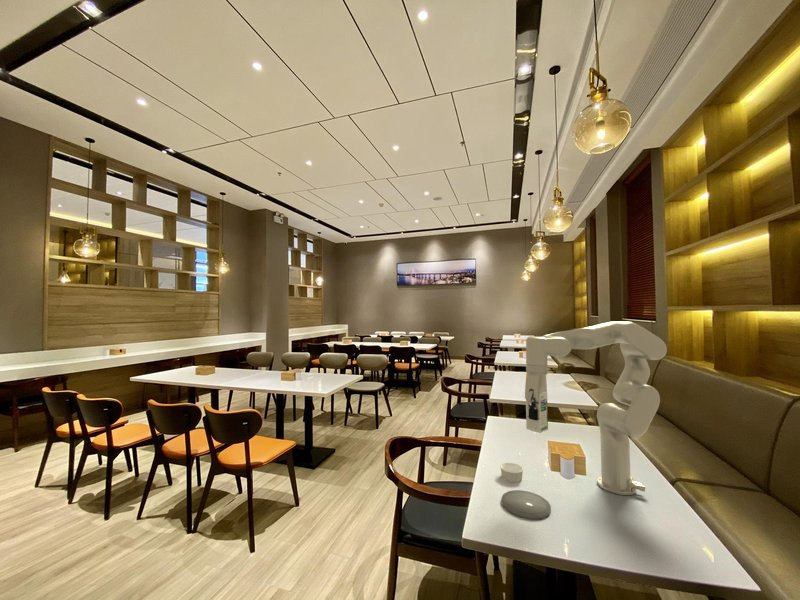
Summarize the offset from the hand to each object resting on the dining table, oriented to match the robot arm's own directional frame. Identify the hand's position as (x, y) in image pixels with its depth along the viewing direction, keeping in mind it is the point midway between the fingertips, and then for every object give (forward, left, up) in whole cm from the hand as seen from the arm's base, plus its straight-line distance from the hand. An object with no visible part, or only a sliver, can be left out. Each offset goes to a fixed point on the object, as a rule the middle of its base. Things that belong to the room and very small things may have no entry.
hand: (536, 417), depth 124 cm
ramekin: (+12, -5, -28) cm, 31 cm away
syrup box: (0, 0, -5) cm, 5 cm away
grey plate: (0, +11, -28) cm, 30 cm away
